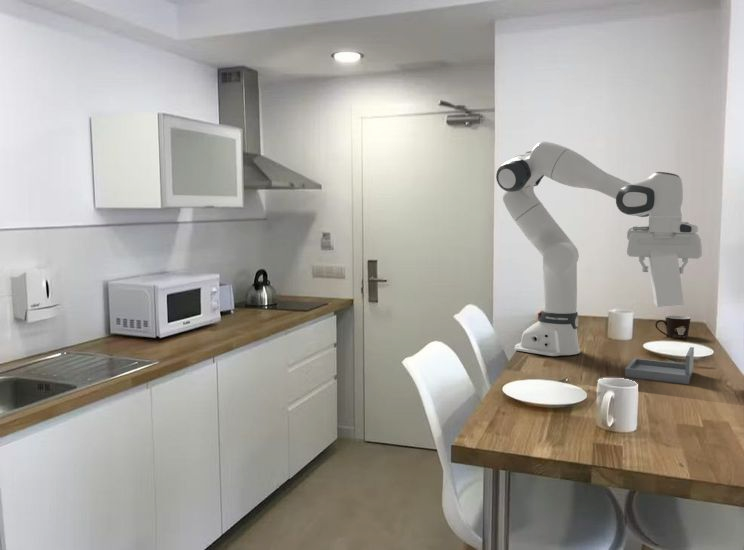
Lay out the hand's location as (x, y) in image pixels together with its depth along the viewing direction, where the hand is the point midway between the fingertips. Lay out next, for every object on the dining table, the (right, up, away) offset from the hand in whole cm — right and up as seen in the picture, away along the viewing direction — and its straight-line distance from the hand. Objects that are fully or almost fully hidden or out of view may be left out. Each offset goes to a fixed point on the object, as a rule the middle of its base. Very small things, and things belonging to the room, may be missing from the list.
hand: (662, 272), depth 183 cm
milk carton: (+2, -10, 0) cm, 10 cm away
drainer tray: (0, -31, +2) cm, 31 cm away
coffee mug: (+28, -27, +50) cm, 63 cm away
